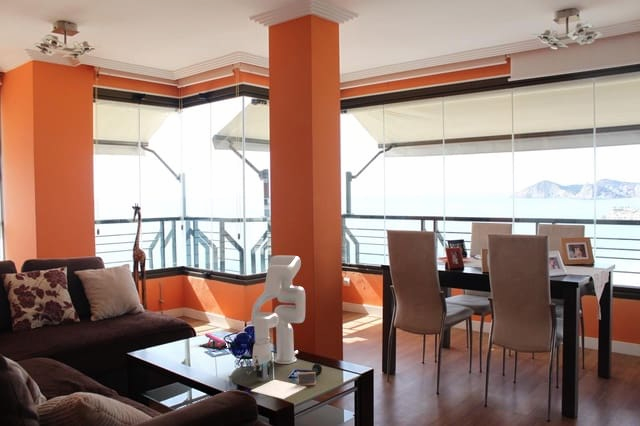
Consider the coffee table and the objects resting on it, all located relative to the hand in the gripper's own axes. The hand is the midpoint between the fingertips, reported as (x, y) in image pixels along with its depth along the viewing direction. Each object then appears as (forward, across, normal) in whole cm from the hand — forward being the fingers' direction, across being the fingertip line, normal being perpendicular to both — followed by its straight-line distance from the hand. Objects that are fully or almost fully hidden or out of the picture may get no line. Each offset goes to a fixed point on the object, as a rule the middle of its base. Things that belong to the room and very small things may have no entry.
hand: (263, 375), depth 280 cm
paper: (+2, +6, +15) cm, 16 cm away
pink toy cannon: (+3, -34, -67) cm, 76 cm away
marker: (+2, 0, 0) cm, 2 cm away
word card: (+2, -6, +23) cm, 24 cm away
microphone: (+3, -17, +18) cm, 25 cm away
